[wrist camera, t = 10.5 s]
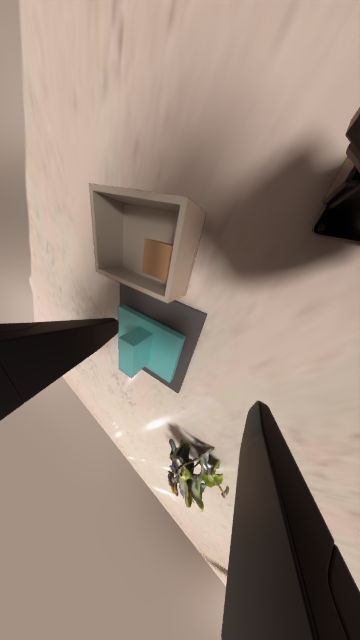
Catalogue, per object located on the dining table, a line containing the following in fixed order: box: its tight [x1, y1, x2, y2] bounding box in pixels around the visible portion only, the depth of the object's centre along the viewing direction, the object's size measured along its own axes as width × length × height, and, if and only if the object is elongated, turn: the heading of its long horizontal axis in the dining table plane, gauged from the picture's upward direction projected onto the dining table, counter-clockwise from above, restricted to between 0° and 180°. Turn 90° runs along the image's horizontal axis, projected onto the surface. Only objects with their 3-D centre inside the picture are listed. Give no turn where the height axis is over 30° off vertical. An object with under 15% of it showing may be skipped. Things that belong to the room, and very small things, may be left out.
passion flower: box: [168, 439, 229, 513], centre depth 30 cm, size 11×11×12 cm
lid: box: [118, 304, 186, 383], centre depth 24 cm, size 13×10×6 cm
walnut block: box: [142, 239, 173, 282], centre depth 18 cm, size 4×4×3 cm
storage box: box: [89, 183, 206, 303], centre depth 18 cm, size 13×10×5 cm
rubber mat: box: [120, 282, 207, 393], centre depth 27 cm, size 17×19×1 cm
